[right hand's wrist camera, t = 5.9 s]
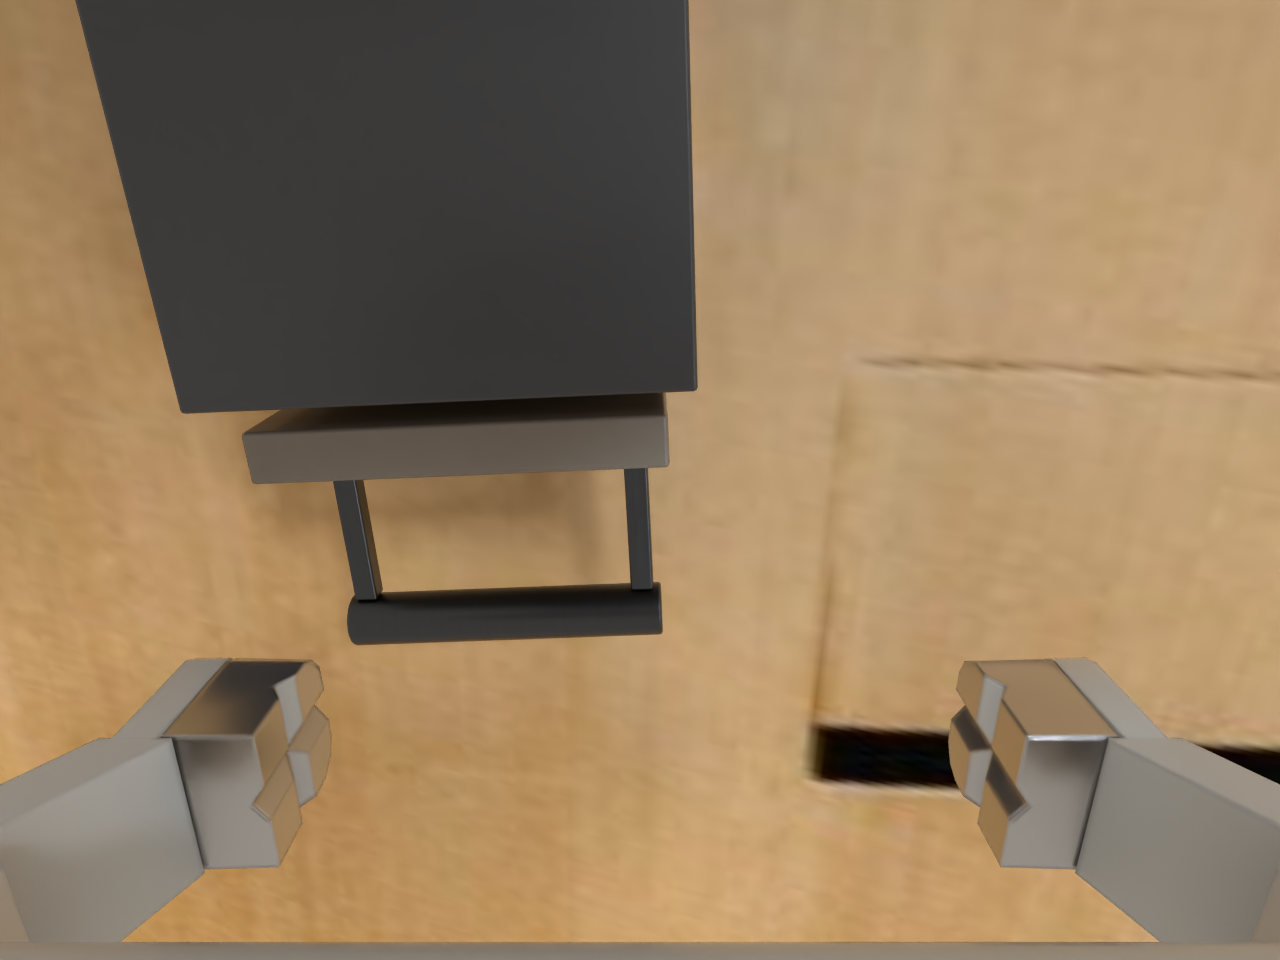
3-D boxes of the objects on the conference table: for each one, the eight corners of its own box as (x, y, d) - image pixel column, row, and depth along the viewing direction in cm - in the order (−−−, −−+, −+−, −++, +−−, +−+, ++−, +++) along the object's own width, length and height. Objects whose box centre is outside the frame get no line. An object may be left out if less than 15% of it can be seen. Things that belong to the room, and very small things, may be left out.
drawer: (672, 582, 25) (678, 699, 19) (380, 592, 25) (303, 711, 20) (631, -459, 17) (622, -787, 11) (196, -427, 17) (-32, -732, 11)
